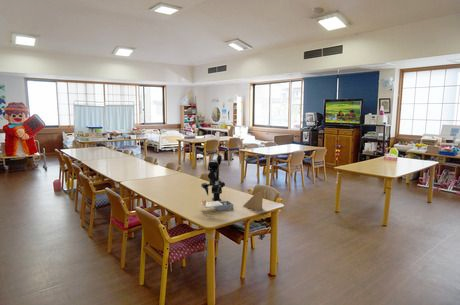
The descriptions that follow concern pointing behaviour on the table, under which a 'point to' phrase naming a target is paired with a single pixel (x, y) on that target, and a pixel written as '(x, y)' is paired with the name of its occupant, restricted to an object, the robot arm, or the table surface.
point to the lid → (210, 203)
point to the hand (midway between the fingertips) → (213, 194)
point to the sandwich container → (255, 202)
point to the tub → (224, 206)
